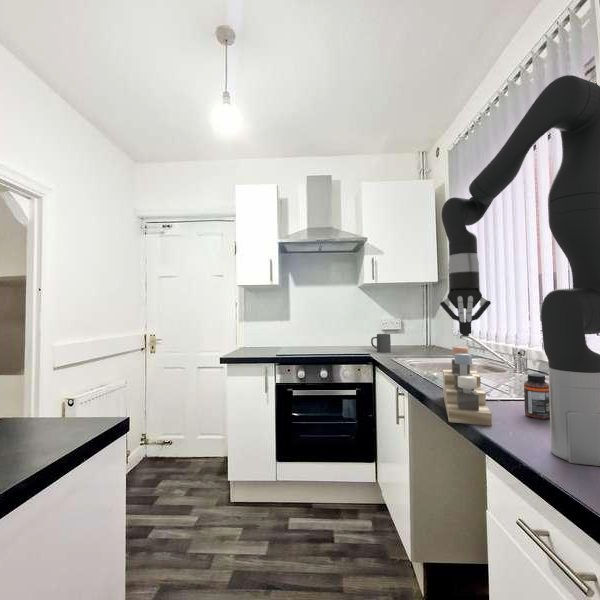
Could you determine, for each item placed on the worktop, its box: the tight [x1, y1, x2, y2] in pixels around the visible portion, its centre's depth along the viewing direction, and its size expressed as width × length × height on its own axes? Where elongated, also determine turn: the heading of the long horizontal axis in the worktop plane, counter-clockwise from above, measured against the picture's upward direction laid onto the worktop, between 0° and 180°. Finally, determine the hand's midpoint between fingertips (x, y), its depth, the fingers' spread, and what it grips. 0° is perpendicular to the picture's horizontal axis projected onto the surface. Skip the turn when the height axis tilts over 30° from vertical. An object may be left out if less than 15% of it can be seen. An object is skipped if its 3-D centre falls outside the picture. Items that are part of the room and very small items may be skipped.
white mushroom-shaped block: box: [458, 376, 477, 393], centre depth 97 cm, size 5×5×7 cm
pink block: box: [451, 346, 469, 357], centre depth 115 cm, size 5×5×7 cm
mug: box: [370, 333, 392, 354], centre depth 247 cm, size 14×9×12 cm
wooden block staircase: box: [442, 358, 493, 426], centre depth 106 cm, size 28×10×13 cm, turn 161°
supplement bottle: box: [523, 372, 550, 420], centre depth 99 cm, size 6×6×11 cm
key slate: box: [454, 353, 473, 376], centre depth 106 cm, size 5×5×7 cm
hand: (465, 335), depth 98 cm, fingers closed
